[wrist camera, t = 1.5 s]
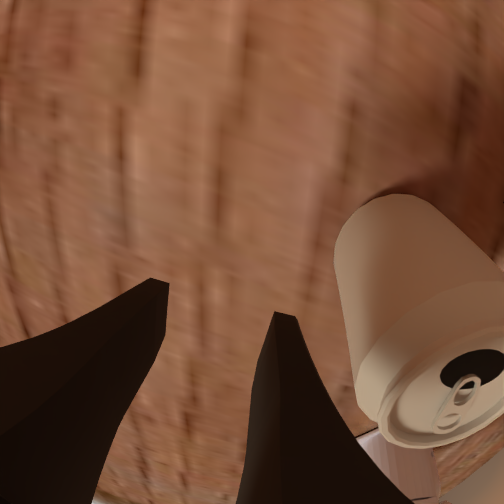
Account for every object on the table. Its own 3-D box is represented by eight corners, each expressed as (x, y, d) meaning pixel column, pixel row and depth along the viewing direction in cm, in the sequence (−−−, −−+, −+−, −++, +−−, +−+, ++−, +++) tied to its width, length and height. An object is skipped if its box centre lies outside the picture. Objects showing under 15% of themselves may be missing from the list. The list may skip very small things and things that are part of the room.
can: (458, 205, 17) (583, 319, 6) (420, 306, 20) (480, 453, 9) (347, 176, 17) (423, 297, 6) (319, 290, 20) (328, 462, 10)
